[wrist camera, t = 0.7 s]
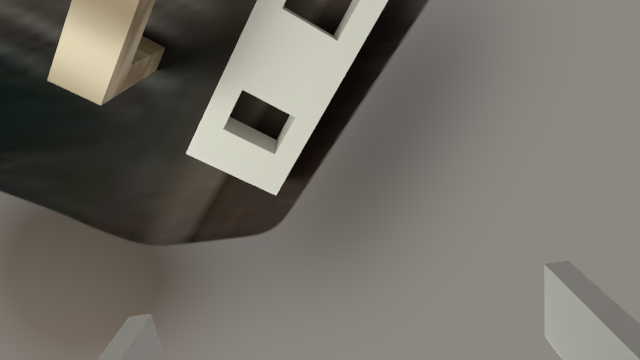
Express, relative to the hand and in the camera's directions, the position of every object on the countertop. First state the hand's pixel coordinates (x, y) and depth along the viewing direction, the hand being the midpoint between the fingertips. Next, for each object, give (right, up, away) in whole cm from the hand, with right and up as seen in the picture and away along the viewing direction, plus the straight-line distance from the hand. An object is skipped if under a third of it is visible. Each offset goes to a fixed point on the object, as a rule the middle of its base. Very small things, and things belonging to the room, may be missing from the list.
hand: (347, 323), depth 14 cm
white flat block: (-3, +15, +20) cm, 25 cm away
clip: (-12, +19, +18) cm, 29 cm away
